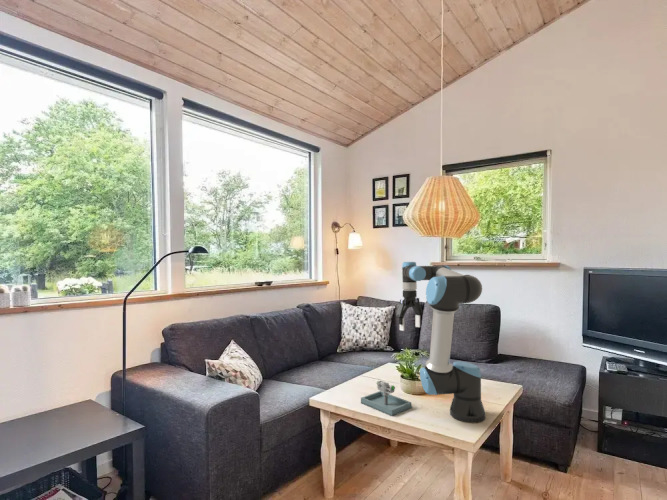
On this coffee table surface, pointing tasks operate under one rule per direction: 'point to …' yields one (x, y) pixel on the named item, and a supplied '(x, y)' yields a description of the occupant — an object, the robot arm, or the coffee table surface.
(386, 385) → the mechanical component
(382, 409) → the parts tray
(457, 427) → the coffee table surface
